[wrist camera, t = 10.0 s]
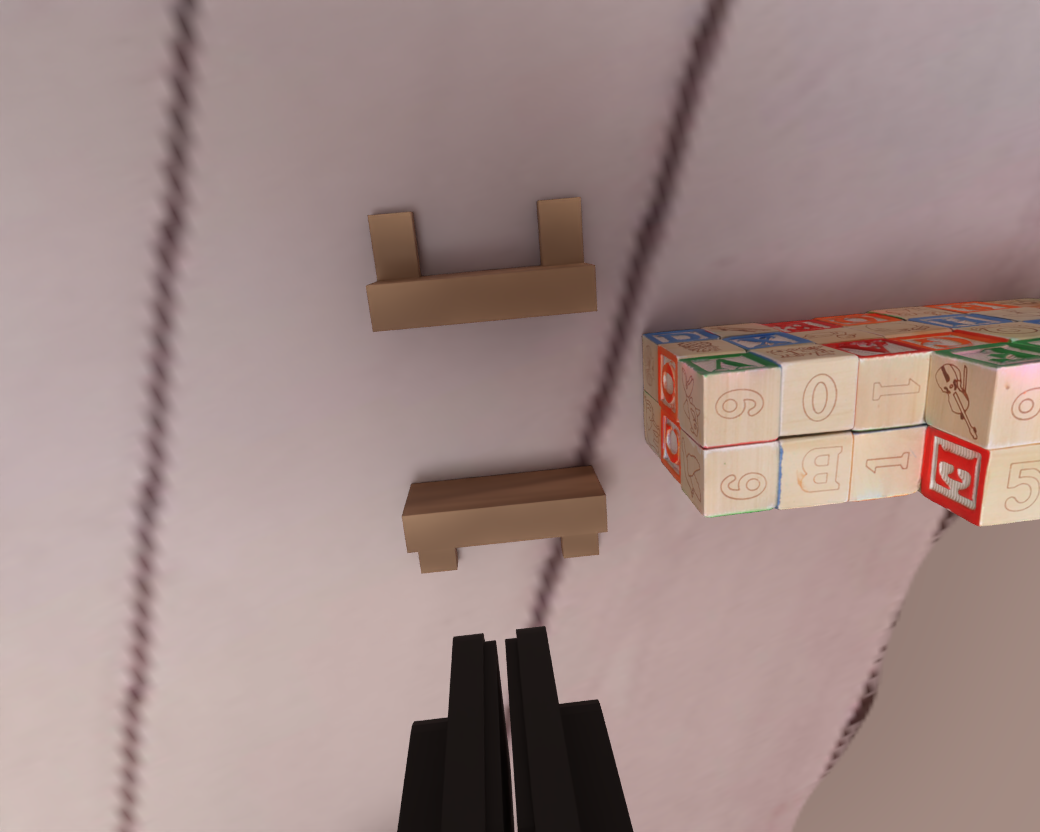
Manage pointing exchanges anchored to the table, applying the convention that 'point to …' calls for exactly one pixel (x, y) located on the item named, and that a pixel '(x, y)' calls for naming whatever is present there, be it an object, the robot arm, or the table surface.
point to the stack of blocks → (854, 410)
